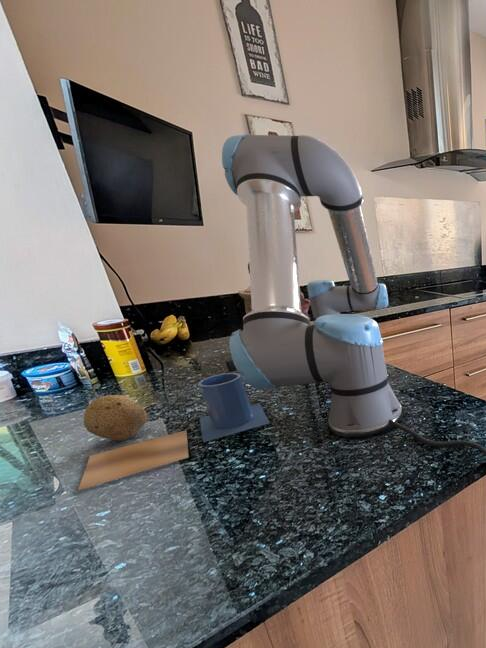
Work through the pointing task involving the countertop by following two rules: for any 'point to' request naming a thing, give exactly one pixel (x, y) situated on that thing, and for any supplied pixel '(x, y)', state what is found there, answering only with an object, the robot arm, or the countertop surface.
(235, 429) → the blue mat
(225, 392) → the blue cup
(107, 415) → the brown potato
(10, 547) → the countertop surface
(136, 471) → the cork mat
